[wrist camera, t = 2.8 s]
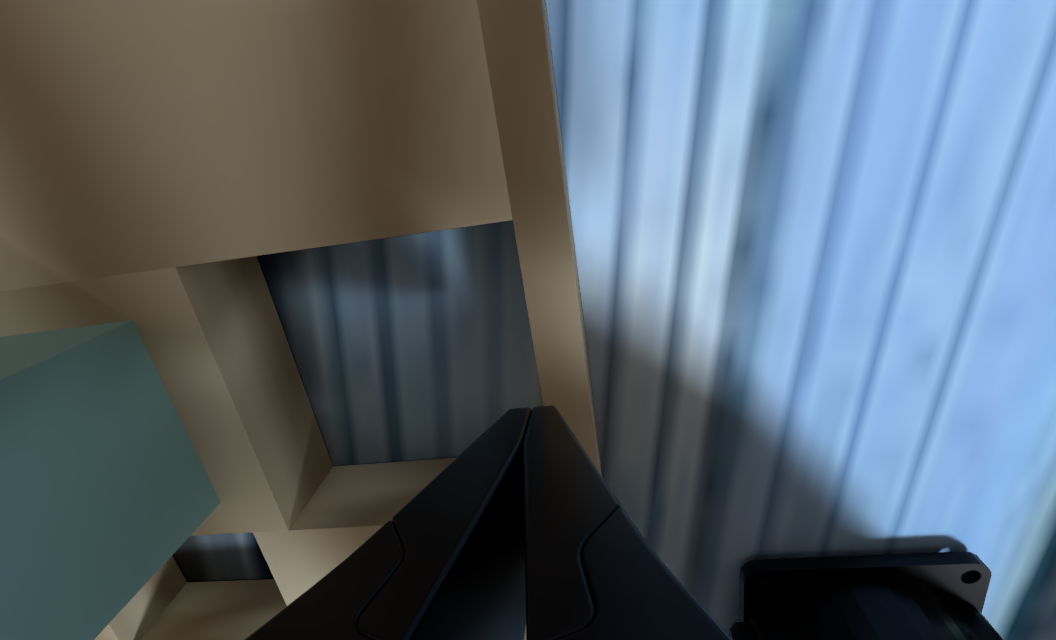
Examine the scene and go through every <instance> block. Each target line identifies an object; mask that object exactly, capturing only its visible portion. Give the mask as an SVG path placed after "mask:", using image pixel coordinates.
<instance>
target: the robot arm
mask: <svg viewBox="0 0 1056 640" xmlns="http://www.w3.org/2000/svg"><path fill="white" fill-rule="evenodd" d="M990 578H991V571H990V570H989V568H988V567H987V566H986V565H985V564H984V563H983V562H982V561H981V560H980V559H979V557H978V556H977V555H975V554H973V553H971V552H944V553H918V554H893V555H867V556H841V557H816V558H790V559H764V560H753V561H750V562H748V563H746V564H744V565H743V567H742V568H741V570H740V603H739V622H734V623H733V625H732V626H731V628H730V630H729V636H728V635H727V634H726V632H725V631H724V630H723V629H722V628H721V627H720V626H719V625H718V624H717V622H716V621H715V620H714V619H713V618H712V617H711V616H710V615H709V614H708V612H707V611H706V610H705V609H704V608H703V607H702V606H701V605H700V604H699V602H698V601H697V600H696V599H695V598H694V597H693V596H692V595H691V594H690V592H689V591H688V590H687V589H686V588H685V587H684V586H683V585H682V584H681V583H680V581H679V580H678V579H677V578H676V577H675V576H674V575H673V574H672V572H671V571H670V570H669V569H668V568H667V566H666V565H665V564H664V563H663V562H662V561H661V559H660V558H659V557H658V556H657V555H656V553H655V552H654V551H653V550H652V549H651V547H650V546H649V545H648V543H647V542H646V541H645V539H644V538H643V536H642V535H641V534H640V532H639V531H638V529H637V528H636V527H635V525H634V524H633V522H632V521H631V519H630V518H629V516H628V515H627V513H626V512H625V510H624V509H623V508H622V507H621V505H620V503H619V502H618V500H617V499H616V497H615V496H614V494H613V493H612V491H611V490H610V488H609V486H608V485H607V483H606V482H605V480H604V479H603V477H602V476H601V474H600V473H599V471H598V470H597V468H596V467H595V465H594V464H593V462H592V461H591V459H590V458H589V456H588V455H587V453H586V452H585V450H584V449H583V447H582V446H581V444H580V443H579V441H578V440H577V438H576V437H575V435H574V433H573V432H572V430H571V429H570V427H569V426H568V424H567V423H566V421H565V420H564V418H563V417H562V415H561V414H560V412H559V411H558V409H557V408H556V407H555V406H553V405H550V406H538V407H534V408H533V409H531V408H528V407H526V408H514V409H510V410H508V411H507V412H506V413H505V414H504V415H503V416H502V417H500V418H499V419H498V420H497V421H496V422H495V423H494V424H493V425H492V426H491V427H490V428H489V429H487V430H486V431H485V432H484V433H483V434H482V435H481V436H480V437H479V438H478V439H477V440H476V441H474V442H473V443H472V444H471V445H470V446H469V447H468V448H467V449H466V450H465V451H464V452H463V453H461V454H460V455H459V456H458V457H457V458H456V459H455V460H454V461H453V462H452V463H451V464H450V465H448V466H447V467H446V468H445V469H444V470H443V471H442V472H441V473H440V474H439V475H438V476H437V477H435V478H434V479H433V480H432V481H431V482H430V483H429V484H428V485H427V486H426V487H425V488H424V489H422V490H421V491H420V492H419V493H418V494H417V495H416V496H415V497H414V498H413V499H412V500H411V501H409V502H408V503H407V504H406V505H405V506H404V507H403V508H402V509H401V510H400V511H399V512H398V513H396V514H395V515H394V516H393V517H392V521H391V520H389V521H388V522H386V523H385V524H384V525H383V526H382V527H381V528H380V529H379V530H378V531H377V532H376V533H375V534H373V535H372V536H371V537H370V538H369V539H368V540H367V541H366V542H364V543H363V544H362V545H361V546H360V547H359V548H358V549H356V550H355V551H354V552H353V553H352V554H351V555H350V556H349V557H347V558H346V559H345V560H344V561H343V562H341V563H340V564H339V565H338V566H337V567H335V568H334V569H333V570H332V571H330V572H329V573H328V574H327V575H326V576H324V577H323V578H322V579H321V580H319V581H318V582H317V583H316V584H315V585H313V586H312V587H311V588H310V589H308V590H307V591H306V592H304V593H303V594H302V595H301V596H299V597H298V598H297V599H296V600H294V601H293V602H292V603H290V604H289V605H288V606H287V607H285V608H284V609H283V610H282V611H280V612H279V613H278V614H276V615H275V616H274V617H273V618H271V619H270V620H269V621H268V622H266V623H265V624H264V625H262V626H261V627H260V628H259V629H257V630H256V631H255V632H254V633H252V634H251V635H250V636H249V637H247V638H246V639H245V640H524V635H525V628H526V640H1003V639H1002V638H1001V637H1000V635H999V634H998V633H997V632H996V631H995V629H994V628H993V627H992V626H991V625H990V623H989V622H988V621H987V620H986V619H985V617H984V616H983V615H982V614H981V613H982V609H983V605H984V601H985V597H986V594H987V590H988V586H989V582H990Z"/></svg>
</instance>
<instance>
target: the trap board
mask: <svg viewBox="0 0 1056 640" xmlns="http://www.w3.org/2000/svg"><path fill="white" fill-rule="evenodd" d="M511 220H513V225H514V231H515V237H516V243H517V250H518V256H519V262H520V268H521V274H522V280H523V286H524V292H525V299H526V305H527V311H528V317H529V323H530V329H531V335H532V341H533V348H534V354H535V360H536V366H537V372H538V378H539V384H540V390H541V397H542V403H543V406H550V405H553V406H555V407H556V408H557V409H558V411H559V412H560V414H561V415H562V417H563V418H564V420H565V421H566V423H567V424H568V426H569V427H570V429H571V430H572V432H573V433H574V435H575V437H576V438H577V440H578V441H579V443H580V444H581V446H582V447H583V449H584V450H585V452H586V453H587V455H588V456H589V458H590V459H591V461H592V462H593V464H594V465H595V467H596V468H597V470H598V471H599V473H600V474H601V476H602V471H601V463H600V454H599V446H598V438H597V429H596V421H595V413H594V404H593V396H592V388H591V379H590V371H589V363H588V354H587V346H586V337H585V329H584V321H583V312H582V304H581V296H580V287H579V279H578V271H577V262H576V254H575V245H574V237H573V229H572V220H571V212H570V204H569V195H568V187H567V179H566V170H565V162H564V153H563V145H562V137H561V128H560V120H559V112H558V103H557V95H556V87H555V78H554V70H553V62H552V53H551V45H550V36H549V28H548V20H547V11H546V3H545V0H0V337H3V336H11V335H19V334H27V333H35V332H43V331H51V330H59V329H67V328H75V327H83V326H91V325H100V324H108V323H116V322H124V321H132V320H133V322H134V324H135V327H136V329H137V331H138V333H139V335H140V337H141V339H142V341H143V343H144V345H145V347H146V349H147V351H148V354H149V356H150V358H151V360H152V362H153V364H154V366H155V368H156V370H157V372H158V374H159V376H160V378H161V380H162V383H163V385H164V387H165V389H166V391H167V393H168V395H169V397H170V399H171V401H172V403H173V405H174V407H175V409H176V412H177V414H178V416H179V418H180V420H181V422H182V424H183V426H184V428H185V430H186V432H187V434H188V436H189V439H190V441H191V443H192V445H193V447H194V449H195V451H196V453H197V455H198V457H199V459H200V461H201V463H202V465H203V468H204V470H205V472H206V474H207V476H208V478H209V480H210V482H211V484H212V486H213V488H214V490H215V492H216V494H217V497H218V499H219V501H220V504H219V505H218V506H217V507H216V509H215V510H214V511H213V512H212V513H211V514H210V515H209V516H208V517H207V518H206V519H205V520H204V522H203V523H202V524H201V525H200V526H199V527H198V528H197V529H196V530H195V531H194V532H193V533H192V534H191V536H194V535H213V534H232V533H250V532H253V534H254V536H255V538H256V541H257V543H258V545H259V547H260V549H261V551H262V553H263V556H264V558H265V560H266V562H267V564H268V566H269V568H270V571H271V573H272V575H273V577H274V579H264V580H239V581H213V582H187V581H186V579H185V577H184V576H183V574H182V572H181V570H180V568H179V567H178V565H177V563H176V561H175V559H174V558H173V556H171V557H170V558H169V559H168V560H167V561H166V563H165V564H164V565H163V566H162V567H161V568H160V569H159V570H158V571H157V572H156V573H155V574H154V575H153V577H152V578H151V579H150V580H149V581H148V582H147V583H146V584H145V585H144V586H143V587H142V588H141V589H140V591H139V592H138V593H137V594H136V595H135V596H134V597H133V598H132V599H131V600H130V601H129V602H128V604H127V605H126V606H125V607H124V608H123V609H122V610H121V611H120V612H119V613H118V614H117V615H116V616H115V618H114V619H113V620H112V621H111V622H110V623H109V624H108V625H107V626H106V627H105V628H104V629H103V630H102V632H101V633H100V634H99V635H98V636H97V637H96V638H95V639H94V640H245V639H246V638H247V637H249V636H250V635H251V634H252V633H254V632H255V631H256V630H257V629H259V628H260V627H261V626H262V625H264V624H265V623H266V622H268V621H269V620H270V619H271V618H273V617H274V616H275V615H276V614H278V613H279V612H280V611H282V610H283V609H284V608H285V607H287V606H288V605H289V604H290V603H292V602H293V601H294V600H296V599H297V598H298V597H299V596H301V595H302V594H303V593H304V592H306V591H307V590H308V589H310V588H311V587H312V586H313V585H315V584H316V583H317V582H318V581H319V580H321V579H322V578H323V577H324V576H326V575H327V574H328V573H329V572H330V571H332V570H333V569H334V568H335V567H337V566H338V565H339V564H340V563H341V562H343V561H344V560H345V559H346V558H347V557H349V556H350V555H351V554H352V553H353V552H354V551H355V550H356V549H358V548H359V547H360V546H361V545H362V544H363V543H364V542H366V541H367V540H368V539H369V538H370V537H371V536H372V535H373V534H375V533H376V532H377V531H378V530H379V529H380V528H381V527H382V526H383V525H384V524H385V523H386V522H388V521H389V520H391V521H392V517H393V516H394V515H395V514H396V513H398V512H399V511H400V510H401V509H402V508H403V507H404V506H405V505H406V504H407V503H408V502H409V501H411V500H412V499H413V498H414V497H415V496H416V495H417V494H418V493H419V492H420V491H421V490H422V489H424V488H425V487H426V486H427V485H428V484H429V483H430V482H431V481H432V480H433V479H434V478H435V477H437V476H438V475H439V474H440V473H441V472H442V471H443V470H444V469H445V468H446V467H447V466H448V465H450V464H451V463H452V462H453V461H454V460H455V459H456V458H444V459H430V460H416V461H402V462H388V463H374V464H360V465H347V466H333V465H332V462H331V460H330V457H329V454H328V451H327V449H326V446H325V443H324V440H323V438H322V435H321V432H320V429H319V427H318V424H317V421H316V418H315V416H314V413H313V410H312V407H311V405H310V402H309V399H308V396H307V394H306V391H305V388H304V385H303V383H302V380H301V377H300V374H299V372H298V369H297V366H296V363H295V361H294V358H293V355H292V352H291V350H290V347H289V344H288V341H287V339H286V336H285V333H284V330H283V328H282V325H281V322H280V319H279V317H278V314H277V311H276V308H275V306H274V303H273V300H272V297H271V295H270V292H269V289H268V286H267V284H266V281H265V278H264V275H263V273H262V270H261V267H260V264H259V262H258V259H257V256H259V255H266V254H274V253H281V252H288V251H295V250H302V249H310V248H317V247H324V246H331V245H338V244H346V243H353V242H360V241H367V240H374V239H382V238H389V237H396V236H403V235H410V234H418V233H425V232H432V231H439V230H446V229H454V228H461V227H468V226H475V225H482V224H490V223H497V222H504V221H511ZM524 640H526V628H525V635H524Z"/></svg>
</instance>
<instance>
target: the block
mask: <svg viewBox="0 0 1056 640" xmlns="http://www.w3.org/2000/svg"><path fill="white" fill-rule="evenodd" d="M219 504H220V501H219V499H218V497H217V494H216V492H215V490H214V488H213V486H212V484H211V482H210V480H209V478H208V476H207V474H206V472H205V470H204V468H203V465H202V463H201V461H200V459H199V457H198V455H197V453H196V451H195V449H194V447H193V445H192V443H191V441H190V439H189V436H188V434H187V432H186V430H185V428H184V426H183V424H182V422H181V420H180V418H179V416H178V414H177V412H176V409H175V407H174V405H173V403H172V401H171V399H170V397H169V395H168V393H167V391H166V389H165V387H164V385H163V383H162V380H161V378H160V376H159V374H158V372H157V370H156V368H155V366H154V364H153V362H152V360H151V358H150V356H149V354H148V351H147V349H146V347H145V345H144V343H143V341H142V339H141V337H140V335H139V333H138V331H137V329H136V327H135V324H134V322H133V320H132V321H124V322H116V323H108V324H100V325H91V326H83V327H75V328H67V329H59V330H51V331H43V332H35V333H27V334H19V335H11V336H3V337H0V640H94V639H95V638H96V637H97V636H98V635H99V634H100V633H101V632H102V630H103V629H104V628H105V627H106V626H107V625H108V624H109V623H110V622H111V621H112V620H113V619H114V618H115V616H116V615H117V614H118V613H119V612H120V611H121V610H122V609H123V608H124V607H125V606H126V605H127V604H128V602H129V601H130V600H131V599H132V598H133V597H134V596H135V595H136V594H137V593H138V592H139V591H140V589H141V588H142V587H143V586H144V585H145V584H146V583H147V582H148V581H149V580H150V579H151V578H152V577H153V575H154V574H155V573H156V572H157V571H158V570H159V569H160V568H161V567H162V566H163V565H164V564H165V563H166V561H167V560H168V559H169V558H170V557H171V556H172V555H173V554H174V553H175V552H176V551H177V550H178V548H179V547H180V546H181V545H182V544H183V543H184V542H185V541H186V540H187V539H188V538H189V537H190V536H191V534H192V533H193V532H194V531H195V530H196V529H197V528H198V527H199V526H200V525H201V524H202V523H203V522H204V520H205V519H206V518H207V517H208V516H209V515H210V514H211V513H212V512H213V511H214V510H215V509H216V507H217V506H218V505H219Z"/></svg>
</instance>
